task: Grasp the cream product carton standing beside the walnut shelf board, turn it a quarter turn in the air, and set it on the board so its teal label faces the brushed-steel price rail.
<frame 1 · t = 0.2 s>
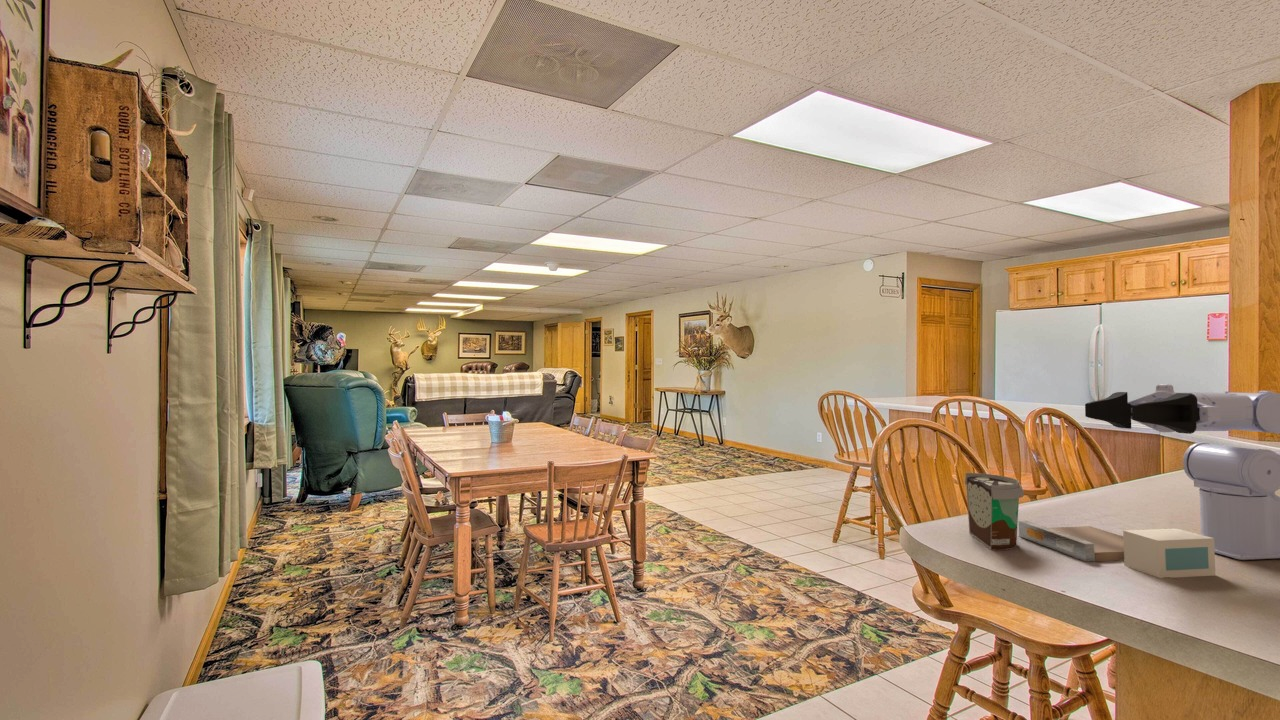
hand: (1109, 411, 85), 21 cm above the table, tool horizontal, fingers open, 7 cm apart
price rail: (1054, 547, 89), on the table
food container: (1000, 543, 93), on the table
carton: (1168, 571, 79), on the table
shelf board: (1092, 546, 89), on the table
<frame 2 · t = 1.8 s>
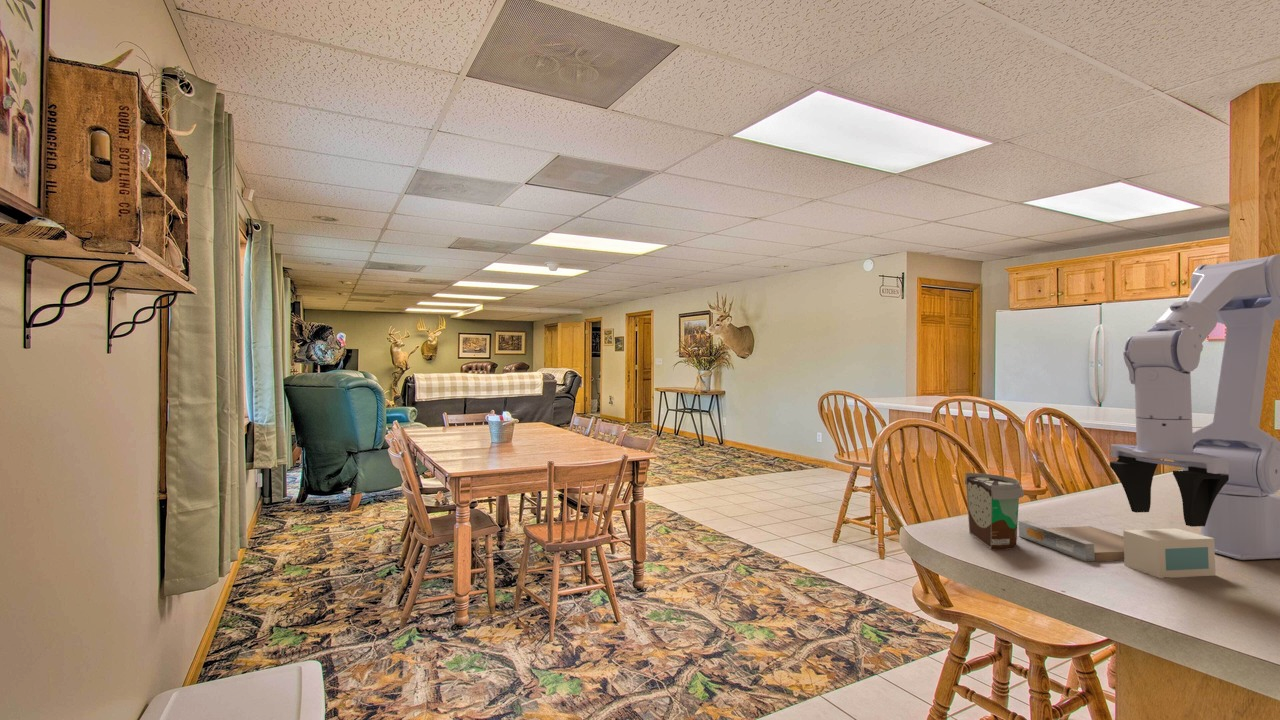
hand: (1166, 518, 79), 7 cm above the table, tool pointing down, fingers open, 7 cm apart
nothing on the table moved.
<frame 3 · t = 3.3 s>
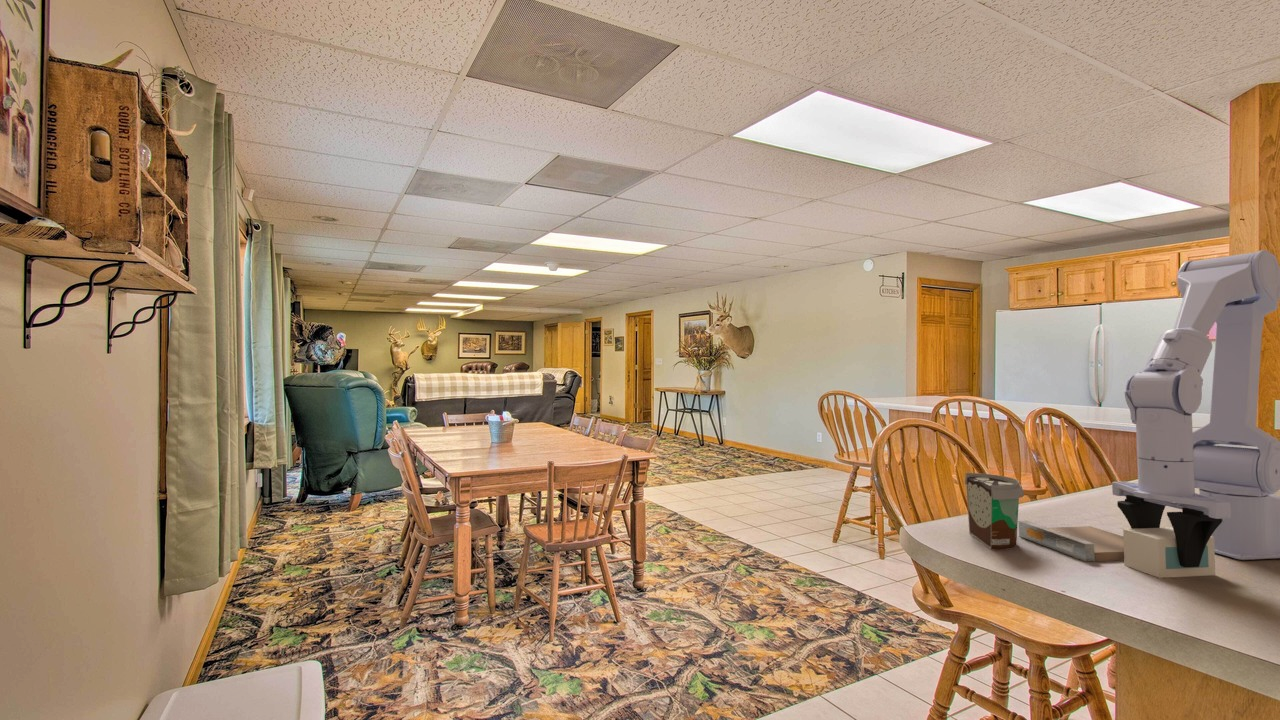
hand: (1168, 559, 79), 1 cm above the table, tool pointing down, fingers closed on carton, 5 cm apart
carton: (1168, 570, 79), on the table, touching gripper
everything else where it was.
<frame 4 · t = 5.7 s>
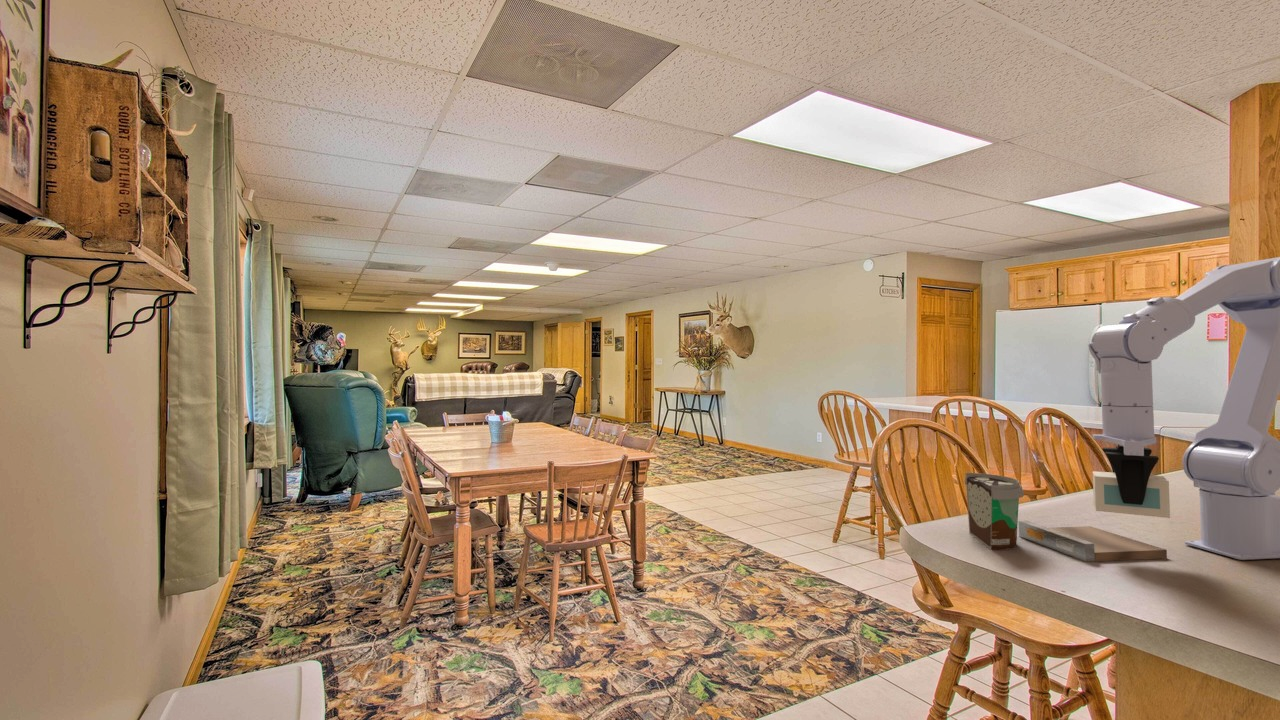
hand: (1130, 500, 84), 8 cm above the table, tool pointing down, fingers closed on carton, 5 cm apart
carton: (1130, 510, 84), point 7 cm above the table, touching gripper
everything else where it was.
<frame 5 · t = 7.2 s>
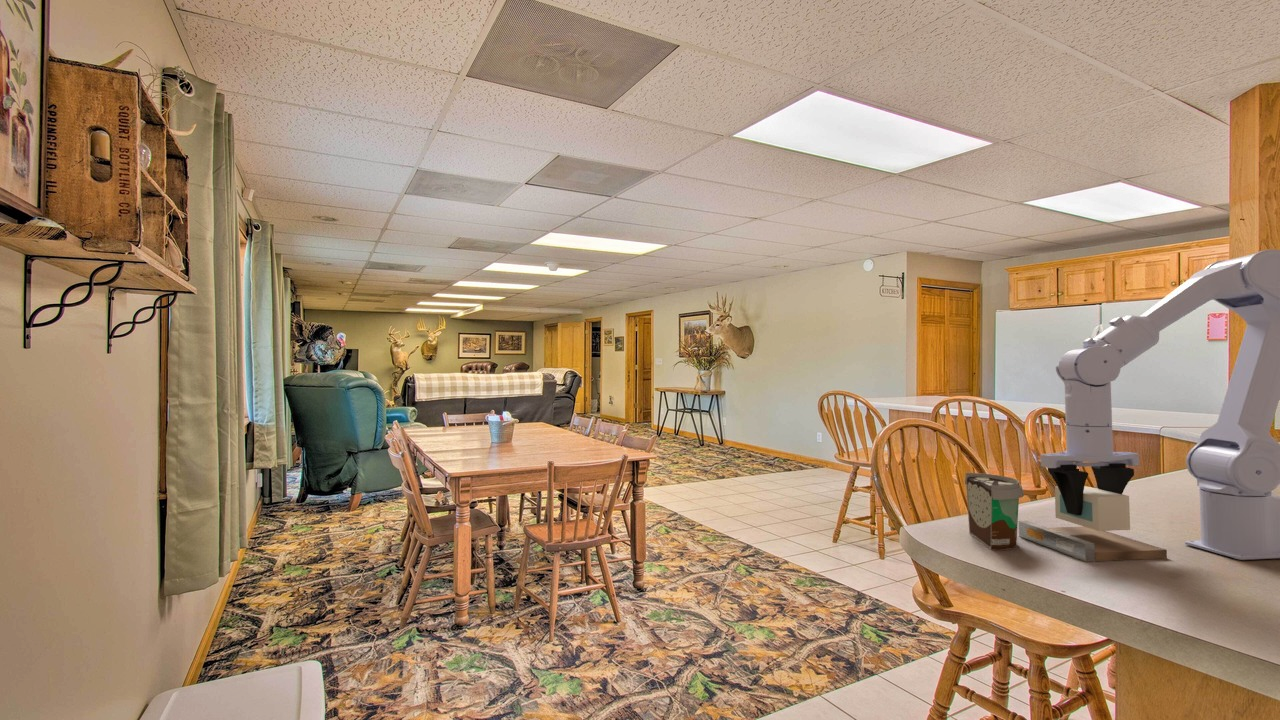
hand: (1091, 513, 90), 5 cm above the table, tool pointing down, fingers closed on carton, 5 cm apart
carton: (1091, 523, 90), point 3 cm above the table, touching gripper
everything else where it was.
when the fingers open (4 cm above the table, at t = 8.4 s): carton drops 1 cm, resting on shelf board.
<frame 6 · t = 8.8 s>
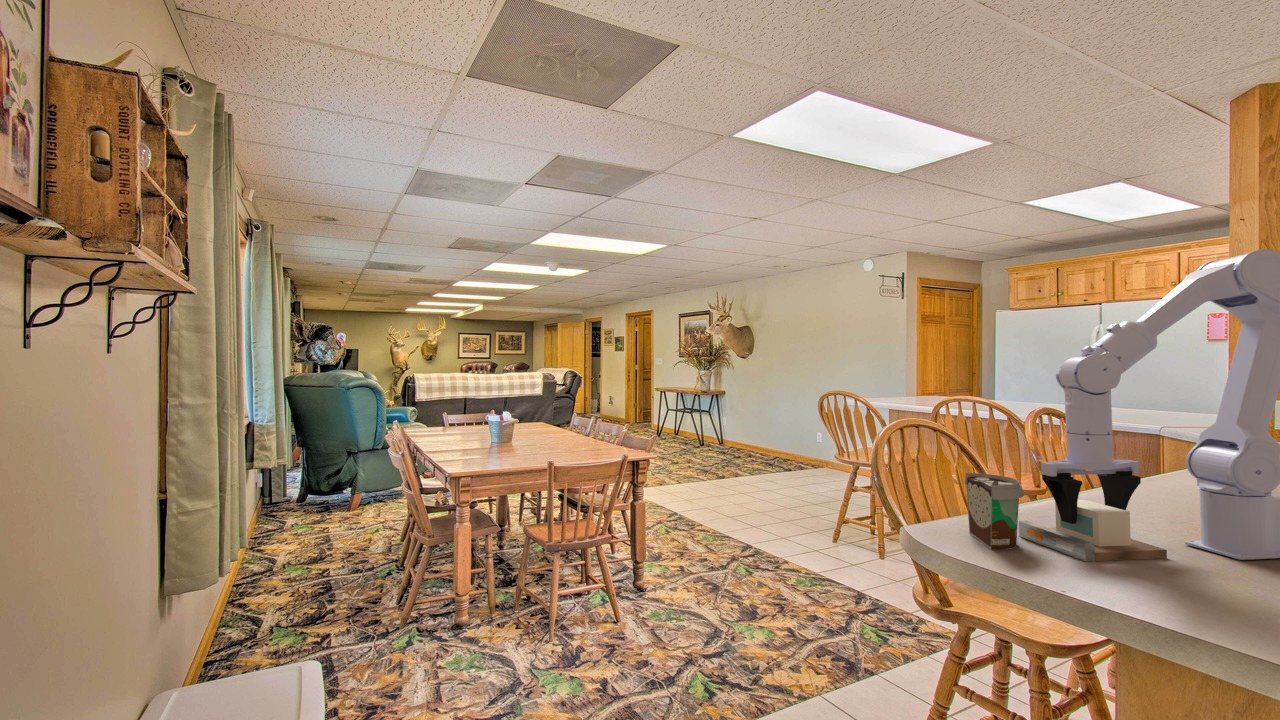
hand: (1091, 521, 90), 4 cm above the table, tool pointing down, fingers open, 7 cm apart
carton: (1091, 538, 90), point 1 cm above the table, touching shelf board
everything else where it was.
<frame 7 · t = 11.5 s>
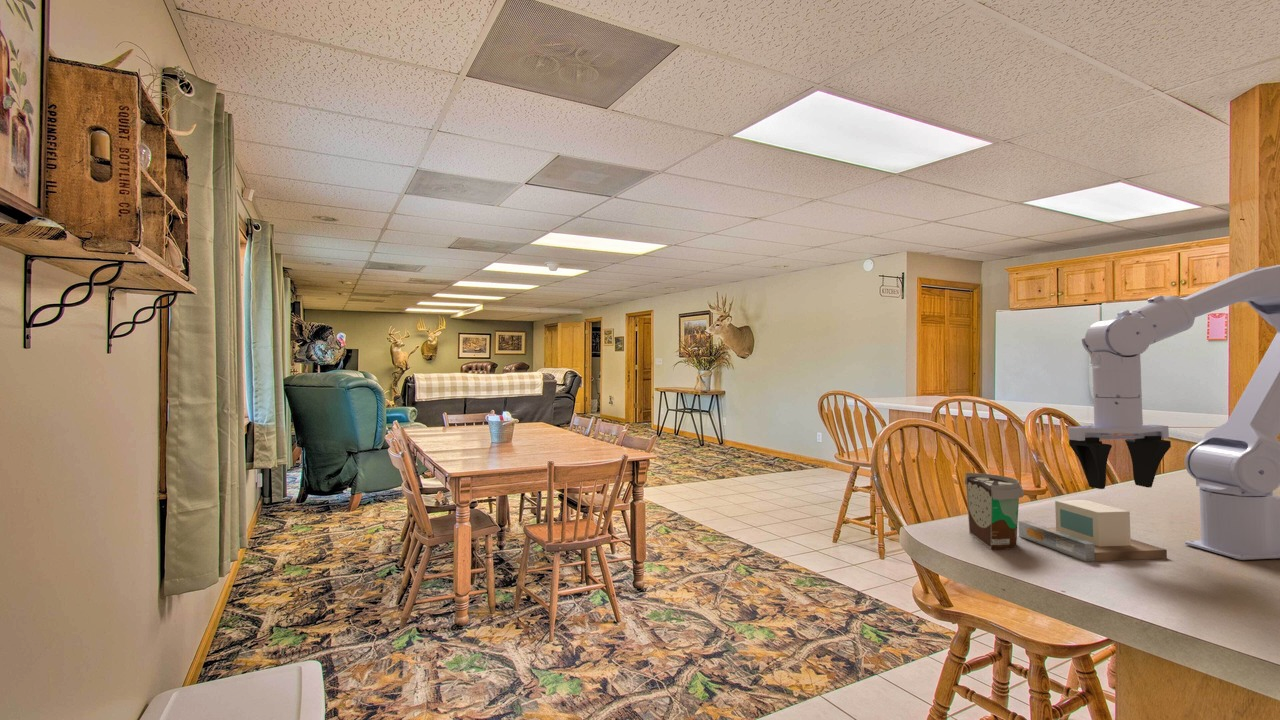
hand: (1120, 487, 88), 9 cm above the table, tool pointing down, fingers open, 7 cm apart
nothing on the table moved.
at the end: carton inside the target area (0.1 cm from its centre), point 1.2 cm above the table; carton tilted 0°; the gripper is holding nothing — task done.
